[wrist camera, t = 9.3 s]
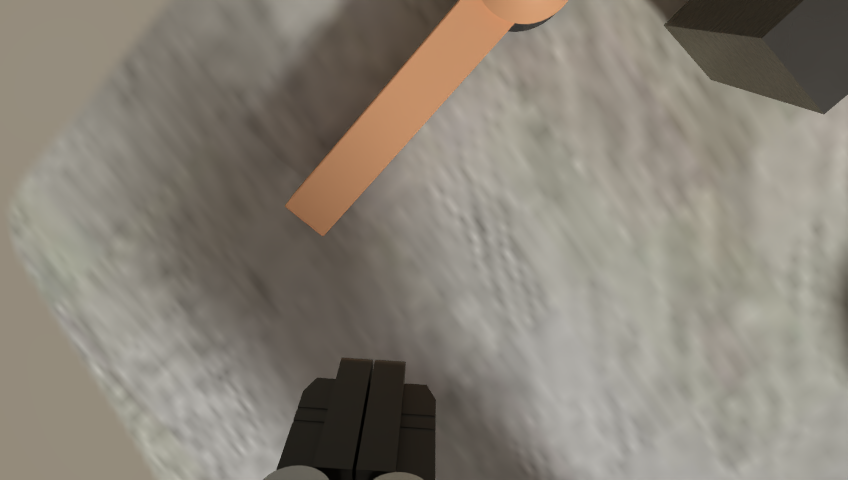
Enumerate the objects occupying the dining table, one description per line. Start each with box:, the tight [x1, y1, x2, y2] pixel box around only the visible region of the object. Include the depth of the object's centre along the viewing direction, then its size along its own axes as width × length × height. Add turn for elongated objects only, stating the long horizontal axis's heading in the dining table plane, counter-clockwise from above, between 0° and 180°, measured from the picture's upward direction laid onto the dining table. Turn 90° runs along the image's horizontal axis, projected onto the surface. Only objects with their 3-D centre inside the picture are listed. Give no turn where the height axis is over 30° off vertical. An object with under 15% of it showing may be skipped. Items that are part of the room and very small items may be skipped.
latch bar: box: [285, 0, 568, 236], centre depth 23 cm, size 4×15×3 cm, turn 138°
